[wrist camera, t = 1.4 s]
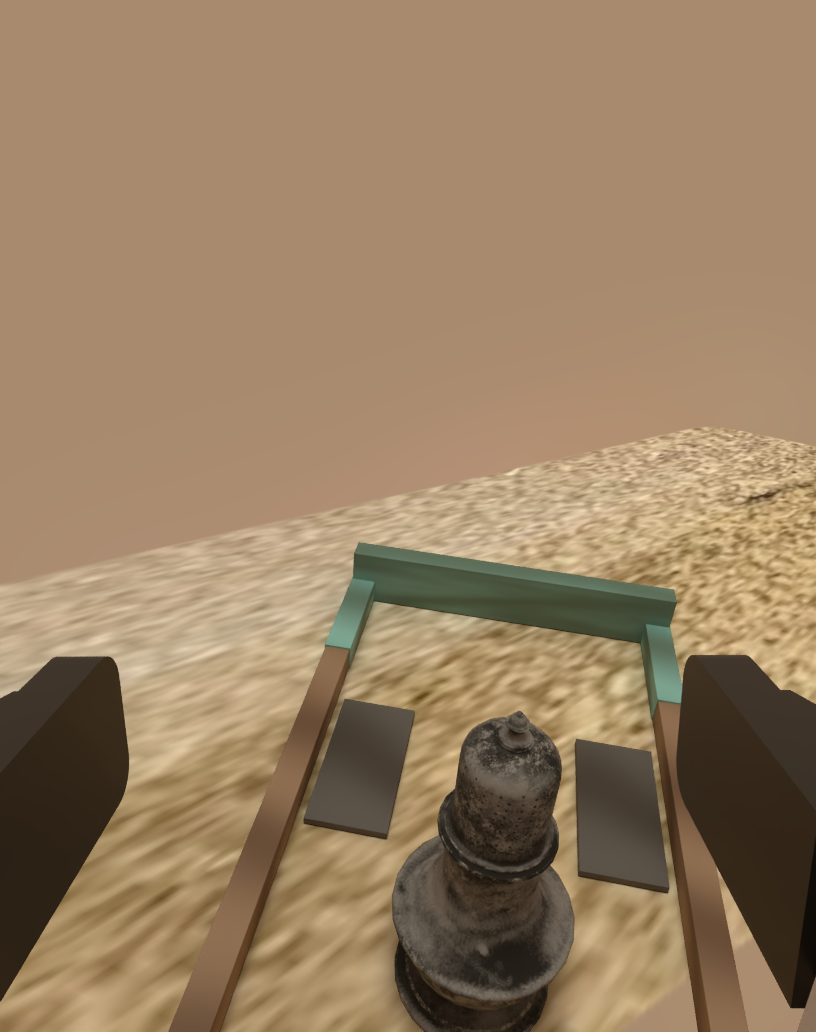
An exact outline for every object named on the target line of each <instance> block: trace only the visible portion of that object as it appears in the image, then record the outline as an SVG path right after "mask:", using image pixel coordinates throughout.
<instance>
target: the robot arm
mask: <svg viewBox="0 0 816 1032" xmlns="http://www.w3.org/2000/svg"><path fill="white" fill-rule="evenodd" d="M676 770H677V779H678V785H679V790H680V793H681V797H682V800H683V802H684V804H685V806H686V808H687V810H688V812H689V814H690V816H691V818H692V820H693V822H694V824H695V826H696V827H697V829H698V831H699V833H700V835H701V837H702V839H703V841H704V843H705V845H706V847H707V849H708V851H709V852H710V854H711V856H712V858H713V860H714V862H715V864H716V866H717V868H718V870H719V872H720V874H721V876H722V877H723V879H724V881H725V883H726V885H727V887H728V889H729V891H730V893H731V895H732V897H733V899H734V900H735V902H736V904H737V906H738V908H739V910H740V912H741V914H742V916H743V918H744V920H745V922H746V924H747V925H748V927H749V929H750V931H751V933H752V935H753V937H754V939H755V941H756V943H757V945H758V946H759V948H760V950H761V952H762V954H763V956H764V958H765V960H766V962H767V964H768V966H769V967H770V970H771V972H772V973H773V975H774V977H775V979H776V981H777V983H778V985H779V987H780V989H781V991H782V993H783V994H784V997H785V998H786V1000H787V1002H788V1004H789V1006H790V1008H805V1010H804V1013H803V1016H802V1019H801V1022H800V1024H799V1027H798V1031H797V1032H816V704H814V703H812V702H811V701H809V700H807V699H805V698H803V697H802V696H800V695H798V694H796V693H794V692H793V691H791V690H780V689H779V688H778V687H777V686H776V685H775V684H774V683H773V682H772V680H771V679H770V678H769V677H768V676H767V675H766V674H765V673H764V672H763V671H762V670H761V669H760V667H759V666H758V665H757V664H756V663H755V662H754V661H753V660H752V659H751V658H750V657H749V656H747V655H691V656H690V657H689V658H688V659H687V661H686V664H685V668H684V674H683V685H682V696H681V707H680V719H679V730H678V741H677V753H676ZM128 772H129V753H128V744H127V736H126V728H125V720H124V711H123V703H122V695H121V687H120V679H119V672H118V668H117V665H116V663H115V661H114V660H113V659H112V658H111V657H55V658H53V659H51V660H50V661H49V662H48V663H47V664H46V665H45V666H44V667H43V668H42V669H41V670H40V671H39V672H38V673H37V674H36V675H35V676H34V677H33V678H32V679H30V680H29V681H28V682H27V683H26V684H25V685H24V686H23V687H22V688H21V689H20V690H19V691H13V692H12V693H10V694H8V695H6V696H4V697H2V698H0V1001H1V1000H2V999H3V997H4V995H5V994H6V992H7V990H8V989H9V987H10V985H11V984H12V982H13V980H14V979H15V977H16V975H17V974H18V972H19V970H20V969H21V967H22V965H23V964H24V962H25V960H26V959H27V957H28V955H29V954H30V952H31V950H32V949H33V947H34V945H35V944H36V942H37V940H38V939H39V937H40V935H41V934H42V932H43V930H44V929H45V927H46V925H47V924H48V922H49V920H50V919H51V917H52V915H53V914H54V912H55V910H56V909H57V907H58V905H59V904H60V902H61V900H62V899H63V897H64V895H65V894H66V892H67V890H68V889H69V887H70V885H71V884H72V882H73V880H74V879H75V877H76V876H77V874H78V872H79V871H80V869H81V867H82V866H83V864H84V862H85V861H86V859H87V857H88V856H89V854H90V852H91V851H92V849H93V847H94V846H95V844H96V842H97V841H98V839H99V837H100V836H101V834H102V832H103V831H104V829H105V827H106V826H107V824H108V822H109V821H110V819H111V817H112V816H113V814H114V812H115V811H116V809H117V807H118V806H119V804H120V802H121V800H122V798H123V795H124V792H125V789H126V785H127V780H128Z"/></svg>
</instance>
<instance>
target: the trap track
mask: <svg viewBox="0 0 816 1032" xmlns="http://www.w3.org/2000/svg"><path fill="white" fill-rule="evenodd" d="M373 601H380V602H386V603H393V604H399V605H405V606H412V607H418V608H424V609H431V610H437V611H443V612H449V613H456V614H462V615H468V616H475V617H481V618H487V619H494V620H500V621H506V622H513V623H519V624H525V625H532V626H538V627H544V628H551V629H557V630H563V631H570V632H576V633H582V634H589V635H595V636H601V637H607V638H614V639H620V640H626V641H633V642H639V643H641V648H642V655H643V662H644V669H645V676H646V683H647V690H648V697H649V704H650V711H651V718H652V720H653V725H654V732H655V739H656V745H657V752H658V759H659V766H660V773H661V780H662V787H663V794H664V800H665V807H666V814H667V821H668V828H669V835H670V842H671V849H672V855H673V862H674V869H675V876H676V883H677V890H678V897H679V904H680V910H681V917H682V924H683V931H684V938H685V945H686V952H687V959H688V966H689V972H690V979H691V986H692V993H693V1000H694V1007H695V1013H696V1020H697V1027H698V1032H749V1031H748V1026H747V1021H746V1016H745V1011H744V1006H743V1001H742V996H741V991H740V986H739V981H738V975H737V971H736V965H735V960H734V955H733V950H732V945H731V940H730V935H729V930H728V925H727V920H726V915H725V910H724V905H723V900H722V895H721V890H720V885H719V880H718V875H717V870H716V864H715V862H714V860H713V858H712V856H711V854H710V852H709V851H708V849H707V847H706V845H705V843H704V841H703V839H702V837H701V835H700V833H699V831H698V829H697V827H696V826H695V824H694V822H693V820H692V818H691V816H690V814H689V812H688V810H687V808H686V806H685V804H684V802H683V800H682V797H681V793H680V790H679V785H678V779H677V770H676V753H677V741H678V730H679V719H680V707H681V696H682V684H681V679H680V674H679V669H678V664H677V659H676V654H675V649H674V644H673V639H672V634H671V629H670V624H671V620H672V617H673V614H674V610H675V607H676V604H677V601H676V596H675V592H674V590H673V589H666V588H659V587H653V586H646V585H639V584H633V583H626V582H619V581H613V580H606V579H600V578H593V577H586V576H580V575H573V574H566V573H560V572H553V571H546V570H540V569H533V568H526V567H520V566H513V565H506V564H500V563H493V562H486V561H480V560H473V559H466V558H460V557H453V556H446V555H440V554H433V553H426V552H420V551H413V550H406V549H400V548H393V547H387V546H380V545H373V544H367V543H360V542H359V543H358V546H357V548H356V550H355V553H354V568H353V578H352V580H351V583H350V585H349V587H348V590H347V592H346V595H345V597H344V600H343V602H342V604H341V607H340V609H339V612H338V614H337V617H336V619H335V621H334V624H333V626H332V629H331V631H330V634H329V636H328V638H327V641H326V643H325V650H324V652H323V655H322V657H321V660H320V662H319V664H318V667H317V669H316V672H315V674H314V677H313V679H312V682H311V684H310V686H309V689H308V691H307V694H306V696H305V699H304V701H303V704H302V706H301V708H300V711H299V713H298V716H297V718H296V721H295V723H294V726H293V728H292V730H291V733H290V735H289V738H288V740H287V743H286V745H285V748H284V750H283V753H282V755H281V757H280V760H279V762H278V765H277V767H276V770H275V772H274V775H273V777H272V779H271V782H270V784H269V787H268V789H267V792H266V794H265V797H264V799H263V801H262V804H261V806H260V809H259V811H258V814H257V816H256V819H255V821H254V823H253V826H252V828H251V831H250V833H249V836H248V838H247V841H246V843H245V846H244V848H243V850H242V853H241V855H240V858H239V860H238V863H237V865H236V868H235V870H234V872H233V875H232V877H231V880H230V882H229V885H228V887H227V890H226V892H225V894H224V897H223V899H222V902H221V904H220V907H219V909H218V912H217V914H216V916H215V919H214V921H213V924H212V926H211V929H210V931H209V934H208V936H207V939H206V941H205V943H204V946H203V948H202V951H201V953H200V956H199V958H198V961H197V963H196V965H195V968H194V970H193V973H192V975H191V978H190V980H189V983H188V985H187V987H186V990H185V992H184V995H183V997H182V1000H181V1002H180V1005H179V1007H178V1009H177V1012H176V1014H175V1017H174V1019H173V1022H172V1024H171V1027H170V1029H169V1032H219V1031H220V1029H221V1026H222V1023H223V1020H224V1017H225V1015H226V1012H227V1009H228V1006H229V1003H230V1000H231V998H232V995H233V992H234V989H235V986H236V984H237V981H238V978H239V975H240V972H241V970H242V967H243V964H244V961H245V958H246V955H247V953H248V950H249V947H250V944H251V941H252V939H253V936H254V933H255V930H256V927H257V924H258V922H259V919H260V916H261V913H262V910H263V908H264V905H265V902H266V899H267V896H268V894H269V891H270V888H271V885H272V882H273V879H274V877H275V874H276V871H277V868H278V865H279V863H280V860H281V857H282V854H283V851H284V848H285V846H286V843H287V840H288V837H289V834H290V832H291V829H292V826H293V823H294V820H295V818H296V815H297V812H298V809H299V806H300V803H301V801H302V798H303V795H304V792H305V789H306V787H307V784H308V781H309V778H310V775H311V772H312V770H313V767H314V764H315V761H316V758H317V756H318V753H319V750H320V747H321V744H322V742H323V739H324V736H325V733H326V730H327V727H328V725H329V722H330V719H331V716H332V713H333V711H334V708H335V705H336V702H337V699H338V696H339V694H340V691H341V688H342V685H343V682H344V680H345V677H346V674H347V671H348V668H350V666H351V663H352V660H353V657H354V654H355V651H356V649H357V646H358V643H359V640H360V637H361V634H362V632H363V629H364V626H365V623H366V620H367V617H368V615H369V612H370V609H371V606H372V603H373ZM414 713H415V711H412V710H406V709H401V708H395V707H389V706H383V705H378V704H372V703H366V702H360V701H354V700H349V699H345V700H344V703H343V706H342V708H341V711H340V714H339V717H338V720H337V723H336V726H335V729H334V732H333V735H332V738H331V740H330V743H329V746H328V749H327V752H326V755H325V758H324V761H323V764H322V767H321V770H320V772H319V775H318V778H317V781H316V784H315V787H314V790H313V793H312V796H311V799H310V802H309V804H308V807H307V810H306V813H305V816H304V823H306V824H312V825H317V826H322V827H327V828H332V829H338V830H343V831H348V832H353V833H359V834H364V835H369V836H374V837H379V838H385V839H386V838H387V834H388V829H389V825H390V821H391V816H392V812H393V807H394V803H395V799H396V794H397V790H398V785H399V781H400V776H401V772H402V768H403V763H404V759H405V754H406V750H407V746H408V741H409V737H410V732H411V728H412V723H413V719H414ZM575 759H576V801H577V843H578V876H583V877H588V878H593V879H598V880H604V881H609V882H614V883H619V884H624V885H630V886H635V887H640V888H645V889H650V890H656V891H661V892H666V893H668V890H669V881H668V874H667V866H666V859H665V852H664V844H663V837H662V830H661V822H660V815H659V807H658V800H657V793H656V785H655V778H654V771H653V763H652V756H651V752H649V751H643V750H638V749H632V748H626V747H620V746H615V745H609V744H603V743H597V742H591V741H586V740H580V739H576V742H575Z"/></svg>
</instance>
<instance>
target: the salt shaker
mask: <svg viewBox="0 0 816 1032" xmlns="http://www.w3.org/2000/svg"><path fill="white" fill-rule="evenodd" d="M561 771H562V766H561V758H560V755H559V751H558V749H557V748H556V746H555V745H554V743H553V742H552V740H551V739H550V738H549V737H548V736H547V735H546V734H545V733H544V732H543V731H542V730H541V729H539V728H538V727H536V726H535V725H533V724H531V723H530V721H529V720H528V719H527V718H526V716H525V715H524V714H523V713H522V712H521V711H518V712H516V713H513V714H512V715H509V716H508V717H499V718H493V719H490V720H487V721H485V722H483V723H481V724H479V725H477V726H476V727H475V728H473V729H472V730H471V731H470V732H469V734H468V735H467V737H466V738H465V740H464V742H463V745H462V748H461V753H460V759H459V766H458V772H457V779H456V786H455V789H454V790H453V791H452V792H451V793H450V794H448V795H447V796H446V798H445V800H444V801H443V803H442V805H441V806H440V811H439V815H438V831H439V835H438V836H436V837H434V838H432V839H430V840H428V841H426V842H424V843H423V844H422V845H421V846H419V847H418V848H417V849H416V850H415V851H414V852H413V853H412V854H411V855H410V856H409V857H408V858H407V860H406V861H405V863H404V865H403V866H402V868H401V870H400V871H399V873H398V875H397V879H396V882H395V886H394V890H393V894H392V911H393V922H394V925H395V928H396V931H397V935H398V938H399V942H398V946H397V951H396V955H395V981H396V984H397V988H398V991H399V994H400V998H401V1001H402V1002H403V1004H404V1006H405V1007H406V1009H407V1011H408V1012H409V1014H410V1016H411V1017H412V1019H413V1020H414V1021H415V1022H416V1023H417V1024H418V1025H419V1026H420V1027H421V1028H422V1029H423V1030H424V1031H425V1032H530V1030H531V1029H532V1028H533V1026H534V1025H535V1024H536V1022H537V1021H538V1019H539V1018H540V1016H541V1013H542V1010H543V1007H544V1004H545V1001H546V998H547V988H548V983H550V982H551V981H552V980H553V979H554V978H555V976H556V975H557V974H558V972H559V971H560V970H561V968H562V967H563V966H564V964H565V963H566V961H567V958H568V955H569V952H570V949H571V946H572V943H573V940H574V913H573V909H572V905H571V901H570V897H569V894H568V892H567V890H566V888H565V886H564V885H563V883H562V881H561V879H560V877H559V875H558V874H557V873H556V872H555V870H554V869H553V868H552V867H551V866H550V864H551V863H552V862H553V860H554V858H555V855H556V853H557V850H558V846H559V832H558V828H557V824H556V821H555V819H554V817H553V816H552V814H553V810H554V806H555V802H556V797H557V793H558V789H559V785H560V781H561Z"/></svg>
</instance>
